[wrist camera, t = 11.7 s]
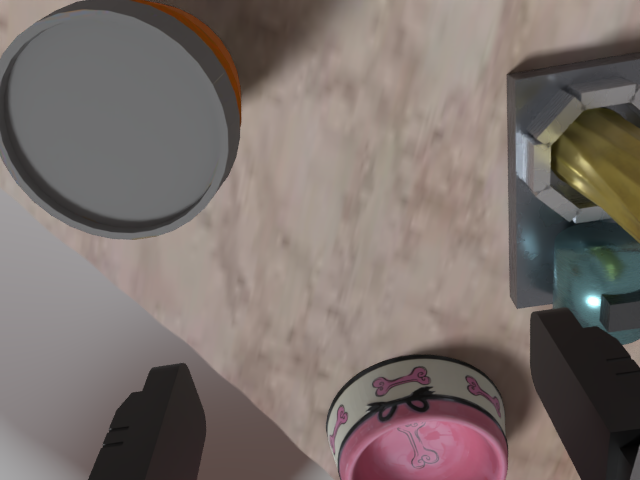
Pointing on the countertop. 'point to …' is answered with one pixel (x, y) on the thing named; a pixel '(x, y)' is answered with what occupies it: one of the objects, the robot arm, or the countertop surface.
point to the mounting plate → (525, 203)
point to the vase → (603, 164)
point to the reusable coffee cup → (119, 116)
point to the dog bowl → (419, 423)
